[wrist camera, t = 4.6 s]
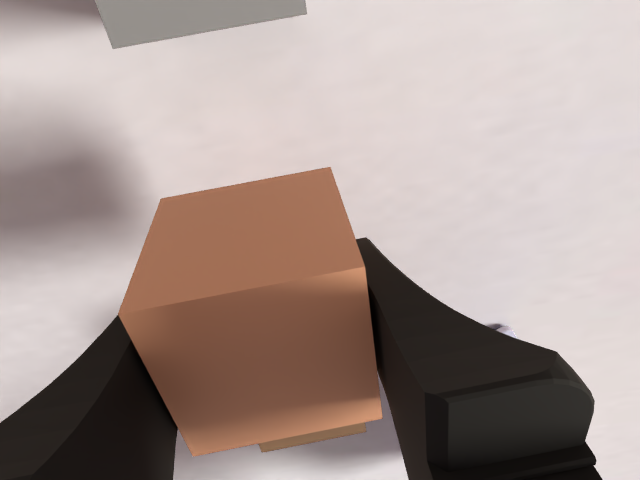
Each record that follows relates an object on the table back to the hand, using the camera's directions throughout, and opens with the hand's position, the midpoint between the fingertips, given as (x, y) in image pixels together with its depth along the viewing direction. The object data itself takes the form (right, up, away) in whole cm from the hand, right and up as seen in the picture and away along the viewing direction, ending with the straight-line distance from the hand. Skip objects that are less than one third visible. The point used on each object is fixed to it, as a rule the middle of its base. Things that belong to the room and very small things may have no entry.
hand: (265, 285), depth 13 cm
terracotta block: (0, +1, +1) cm, 2 cm away
